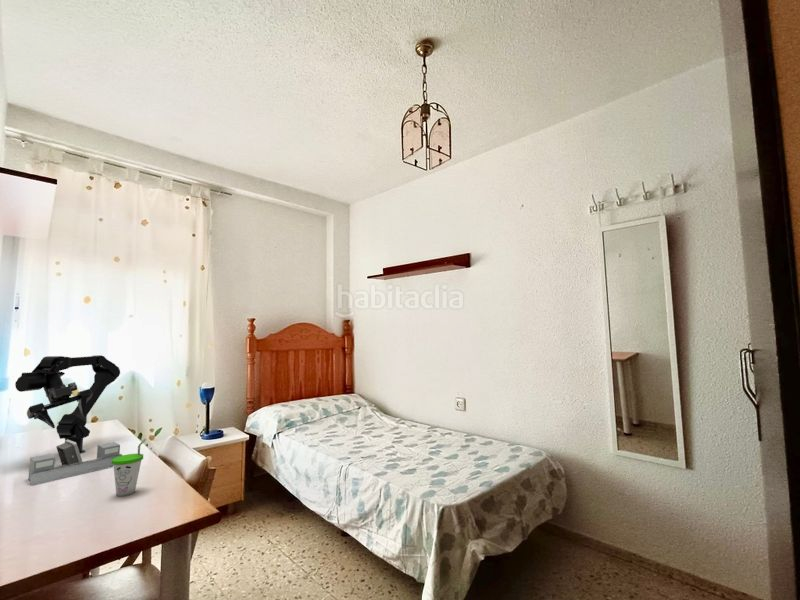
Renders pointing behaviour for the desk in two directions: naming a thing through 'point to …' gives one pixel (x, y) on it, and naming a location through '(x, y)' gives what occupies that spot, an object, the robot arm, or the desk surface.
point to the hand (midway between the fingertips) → (69, 422)
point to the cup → (127, 472)
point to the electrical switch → (69, 453)
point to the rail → (71, 470)
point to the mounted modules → (49, 460)
